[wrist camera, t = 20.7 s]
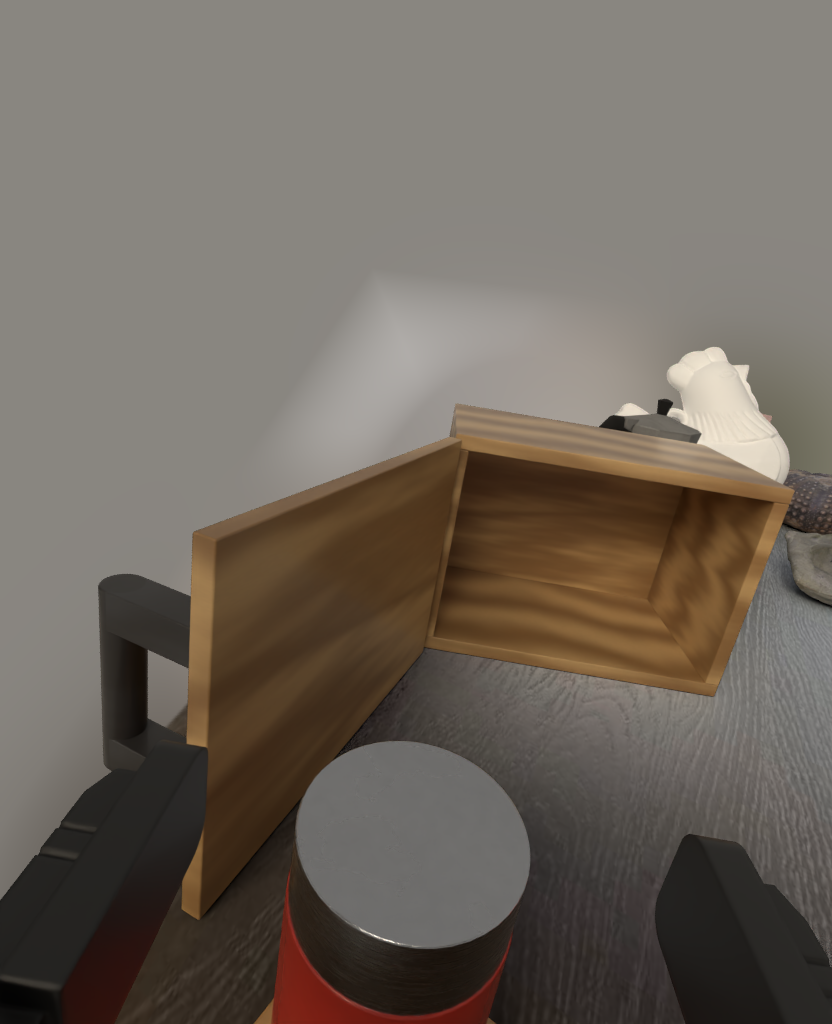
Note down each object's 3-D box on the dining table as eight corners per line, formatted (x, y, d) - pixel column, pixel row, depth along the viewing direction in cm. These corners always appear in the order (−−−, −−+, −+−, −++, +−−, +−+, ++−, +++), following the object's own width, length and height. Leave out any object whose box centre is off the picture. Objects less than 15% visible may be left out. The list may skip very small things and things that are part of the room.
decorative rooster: (797, 487, 89) (731, 344, 92) (817, 487, 74) (739, 318, 78) (637, 541, 99) (583, 411, 102) (628, 550, 85) (566, 399, 88)
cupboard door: (81, 846, 23) (64, 485, 18) (348, 623, 43) (375, 418, 38) (198, 921, 21) (215, 539, 16) (423, 652, 41) (462, 439, 36)
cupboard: (714, 697, 42) (795, 490, 36) (417, 646, 42) (456, 433, 37) (651, 605, 55) (704, 444, 50) (426, 567, 55) (455, 403, 50)
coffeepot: (635, 526, 79) (674, 396, 73) (690, 555, 71) (739, 412, 65) (545, 528, 72) (581, 385, 66) (595, 560, 64) (640, 401, 58)
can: (226, 1054, 18) (244, 806, 14) (372, 924, 22) (412, 711, 19) (353, 1286, 14) (418, 1022, 11) (500, 1074, 18) (577, 840, 15)
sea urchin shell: (849, 550, 82) (863, 481, 80) (726, 524, 98) (735, 466, 96) (910, 542, 91) (924, 479, 89) (788, 518, 107) (797, 465, 105)
